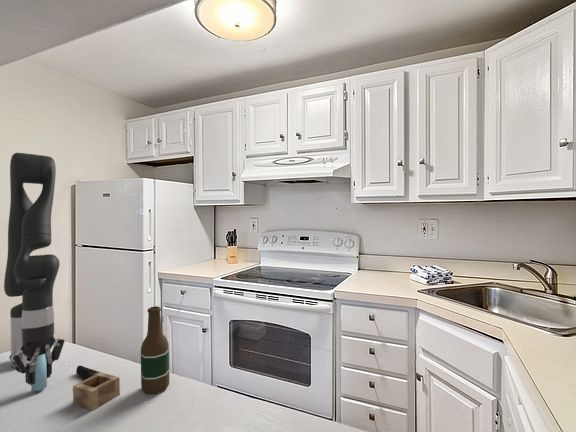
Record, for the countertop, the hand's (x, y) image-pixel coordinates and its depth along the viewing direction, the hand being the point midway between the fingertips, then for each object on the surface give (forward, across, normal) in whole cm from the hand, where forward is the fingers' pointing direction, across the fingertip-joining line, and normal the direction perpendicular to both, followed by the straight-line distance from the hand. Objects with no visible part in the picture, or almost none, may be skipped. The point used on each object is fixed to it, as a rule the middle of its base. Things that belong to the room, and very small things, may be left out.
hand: (39, 380), depth 94 cm
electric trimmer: (+4, -10, +8) cm, 14 cm away
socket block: (+3, -4, +20) cm, 21 cm away
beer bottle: (+3, -14, +31) cm, 34 cm away
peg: (+2, 0, 0) cm, 2 cm away
